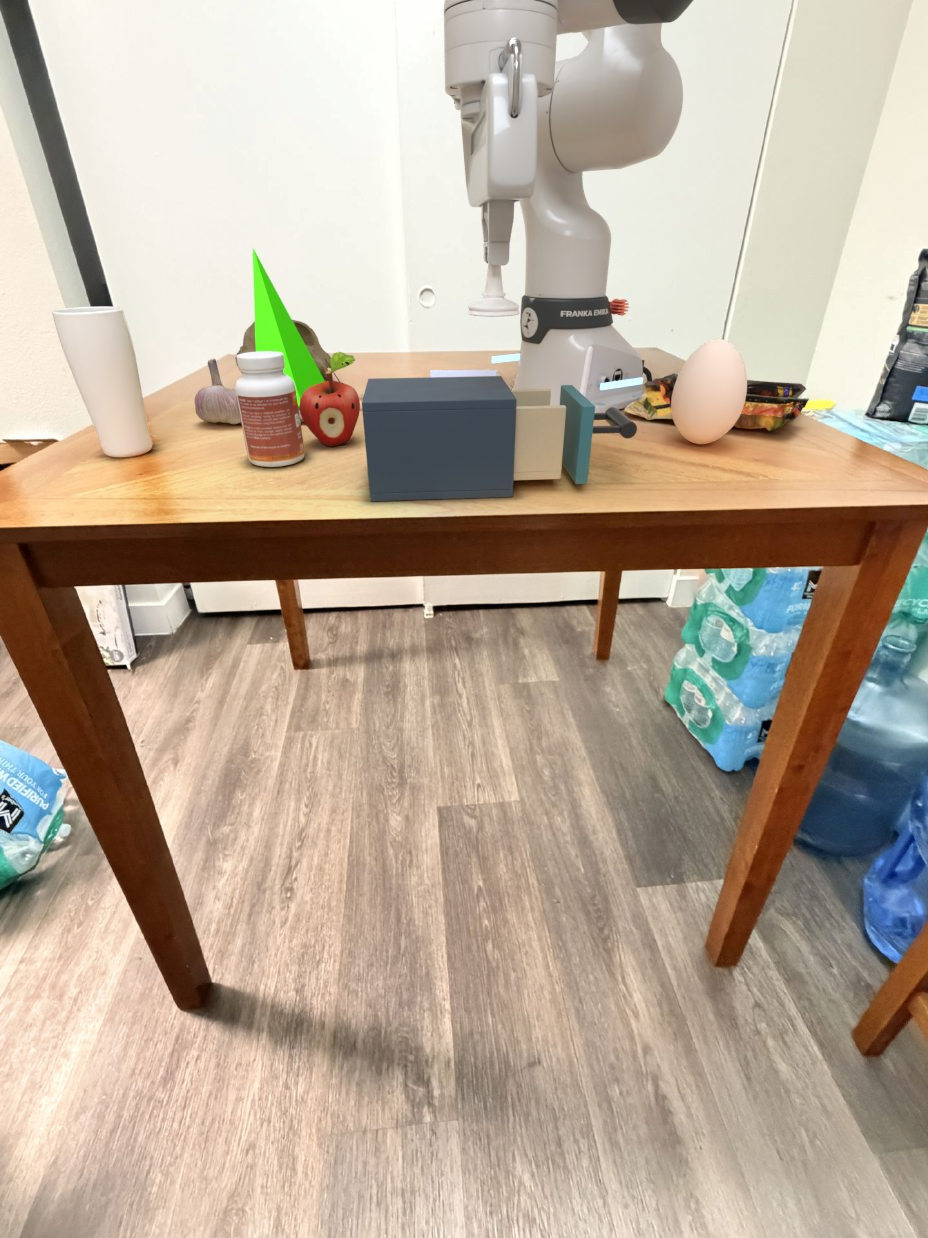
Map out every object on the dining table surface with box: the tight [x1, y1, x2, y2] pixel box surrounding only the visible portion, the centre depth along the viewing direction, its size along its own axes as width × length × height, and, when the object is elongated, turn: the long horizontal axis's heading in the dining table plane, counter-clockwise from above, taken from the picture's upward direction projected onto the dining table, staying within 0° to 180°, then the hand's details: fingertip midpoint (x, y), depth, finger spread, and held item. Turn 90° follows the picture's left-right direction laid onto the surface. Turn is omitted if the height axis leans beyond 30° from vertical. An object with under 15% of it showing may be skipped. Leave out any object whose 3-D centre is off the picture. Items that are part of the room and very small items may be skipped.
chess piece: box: [467, 211, 521, 318], centre depth 57 cm, size 5×5×10 cm
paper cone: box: [252, 248, 325, 423], centre depth 85 cm, size 11×5×25 cm
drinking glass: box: [51, 305, 153, 458], centre depth 69 cm, size 7×7×15 cm
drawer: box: [510, 385, 638, 485], centre depth 62 cm, size 17×9×7 cm, turn 94°
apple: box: [299, 351, 361, 447], centre depth 73 cm, size 8×7×10 cm
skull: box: [234, 319, 332, 382], centre depth 101 cm, size 17×18×14 cm
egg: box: [671, 338, 748, 445], centre depth 71 cm, size 8×8×11 cm
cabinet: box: [361, 375, 517, 502], centre depth 62 cm, size 14×11×9 cm
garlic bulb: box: [194, 357, 241, 425], centre depth 81 cm, size 8×7×8 cm
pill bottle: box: [234, 351, 306, 468], centre depth 67 cm, size 6×6×11 cm
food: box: [624, 373, 810, 432], centre depth 84 cm, size 22×19×4 cm
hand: (495, 264), depth 57 cm, fingers closed on chess piece
